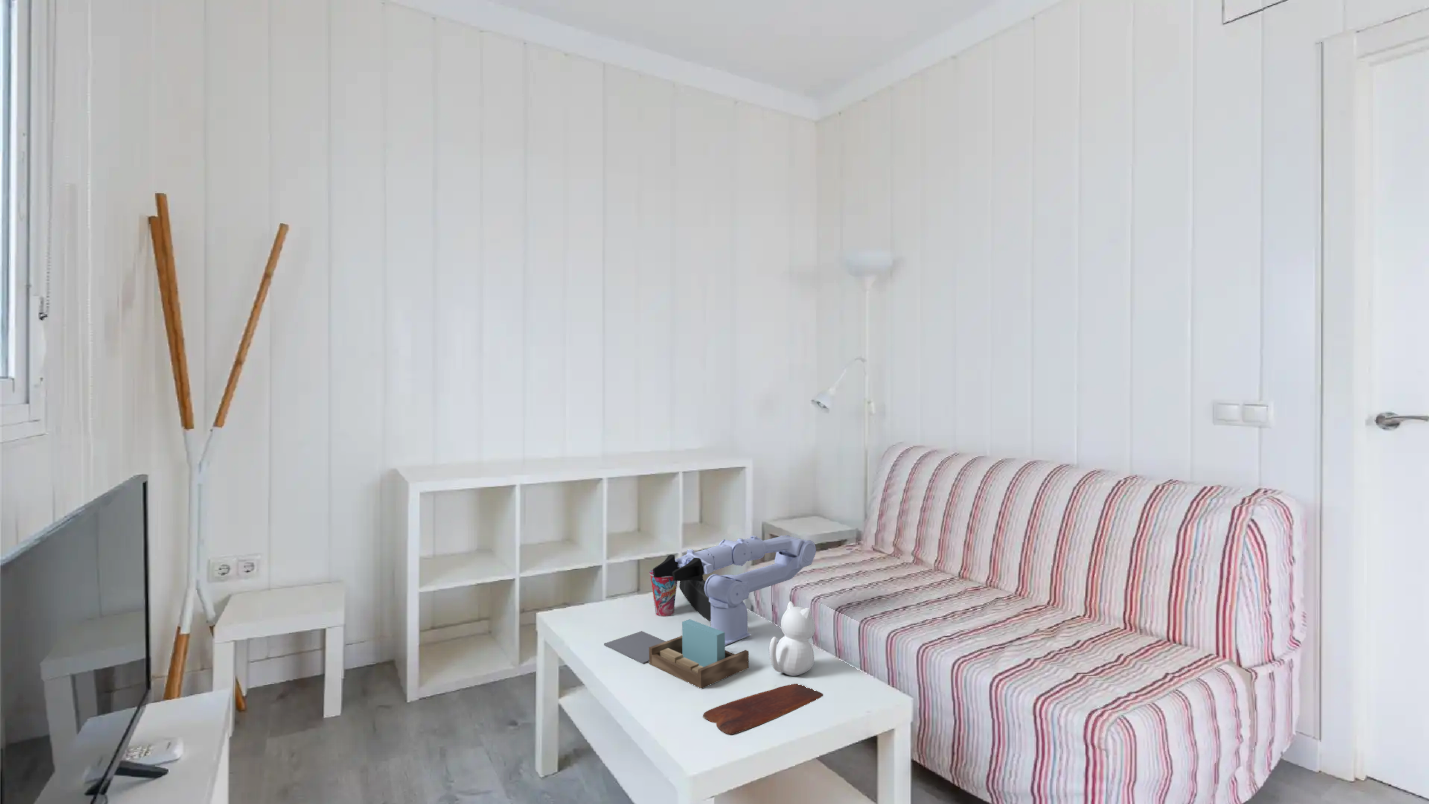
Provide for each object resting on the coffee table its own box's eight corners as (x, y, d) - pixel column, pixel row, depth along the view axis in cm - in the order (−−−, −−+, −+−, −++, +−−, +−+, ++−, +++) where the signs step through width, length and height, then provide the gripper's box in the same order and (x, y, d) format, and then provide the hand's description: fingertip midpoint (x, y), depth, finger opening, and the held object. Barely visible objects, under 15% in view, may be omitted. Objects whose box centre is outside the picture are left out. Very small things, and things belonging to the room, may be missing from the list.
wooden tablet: (730, 740, 132) (729, 732, 132) (699, 719, 140) (699, 711, 140) (829, 700, 148) (829, 692, 148) (797, 683, 156) (797, 675, 156)
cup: (667, 620, 193) (667, 577, 193) (643, 615, 198) (643, 573, 197) (687, 610, 201) (686, 569, 201) (663, 605, 206) (663, 565, 205)
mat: (641, 632, 185) (641, 630, 185) (681, 649, 173) (681, 648, 173) (604, 645, 176) (604, 643, 176) (643, 664, 165) (643, 662, 165)
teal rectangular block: (690, 655, 170) (689, 619, 169) (725, 670, 161) (724, 632, 161) (682, 658, 168) (682, 621, 168) (717, 674, 159) (716, 635, 159)
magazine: (731, 598, 185) (693, 541, 211) (720, 599, 184) (683, 542, 210) (724, 652, 190) (688, 589, 216) (713, 654, 189) (678, 591, 215)
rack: (696, 646, 175) (696, 630, 175) (748, 668, 162) (748, 651, 162) (649, 664, 165) (649, 647, 165) (701, 688, 152) (700, 670, 152)
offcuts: (668, 660, 167) (667, 648, 167) (711, 680, 156) (711, 667, 156) (659, 663, 165) (659, 651, 165) (703, 683, 154) (703, 670, 154)
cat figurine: (825, 671, 161) (825, 606, 160) (785, 685, 153) (785, 617, 153) (797, 658, 168) (798, 596, 167) (758, 671, 160) (758, 606, 160)
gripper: (686, 543, 181) (643, 555, 172) (724, 547, 170) (680, 561, 161) (689, 570, 181) (647, 584, 172) (727, 576, 170) (684, 591, 161)
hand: (663, 574), depth 167 cm, fingers open, 7 cm apart
